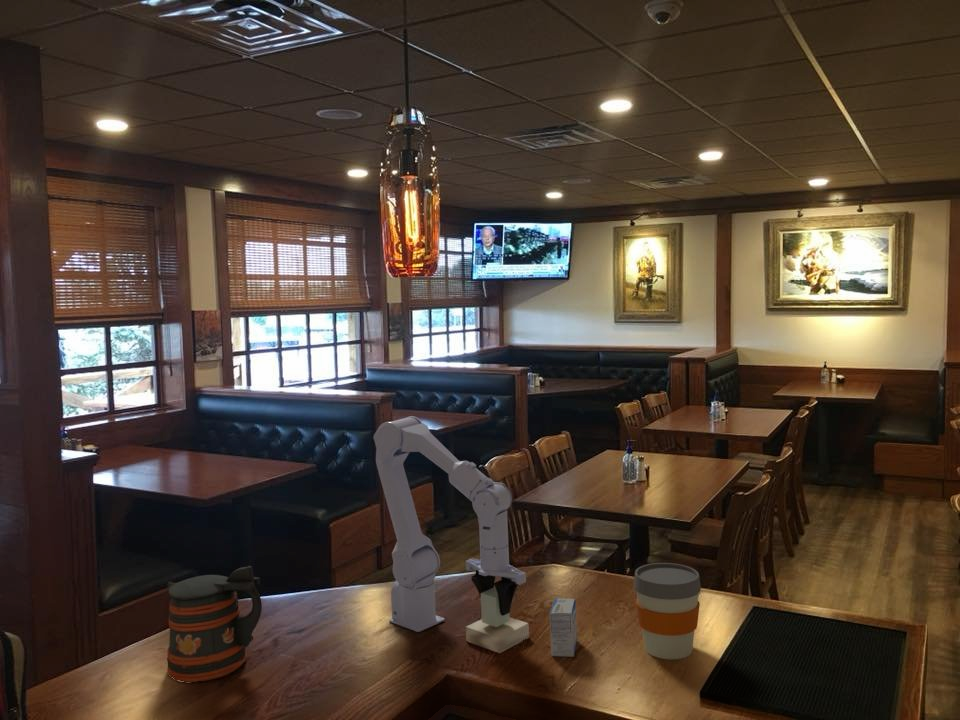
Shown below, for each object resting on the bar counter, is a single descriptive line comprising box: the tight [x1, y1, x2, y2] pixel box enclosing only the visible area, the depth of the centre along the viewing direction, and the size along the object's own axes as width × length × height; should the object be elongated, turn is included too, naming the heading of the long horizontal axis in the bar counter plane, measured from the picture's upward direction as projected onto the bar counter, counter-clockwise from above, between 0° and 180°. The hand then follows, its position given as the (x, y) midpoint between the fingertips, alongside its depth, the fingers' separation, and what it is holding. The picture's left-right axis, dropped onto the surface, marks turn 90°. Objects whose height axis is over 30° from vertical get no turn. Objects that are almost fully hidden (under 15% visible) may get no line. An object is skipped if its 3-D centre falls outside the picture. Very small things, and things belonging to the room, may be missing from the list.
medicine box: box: [549, 597, 578, 658], centre depth 155 cm, size 8×4×9 cm, turn 168°
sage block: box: [480, 587, 511, 627], centre depth 160 cm, size 4×4×6 cm
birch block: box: [465, 617, 530, 654], centre depth 161 cm, size 9×9×3 cm
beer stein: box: [166, 565, 263, 683], centre depth 153 cm, size 19×15×20 cm
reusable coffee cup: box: [633, 562, 702, 660], centre depth 153 cm, size 12×13×15 cm
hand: (496, 611), depth 161 cm, fingers closed on sage block, 4 cm apart
